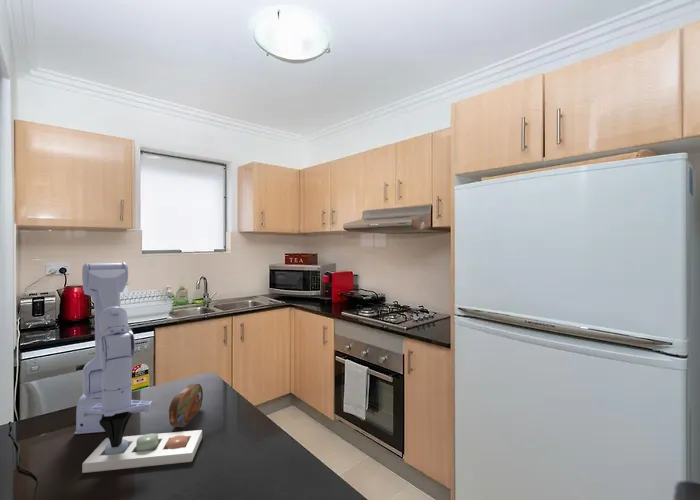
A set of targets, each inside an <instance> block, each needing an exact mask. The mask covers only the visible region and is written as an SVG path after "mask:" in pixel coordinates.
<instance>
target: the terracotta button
mask: <svg viewBox="0 0 700 500" xmlns="http://www.w3.org/2000/svg"><path fill="white" fill-rule="evenodd" d="M187 440H188V438H187V437H186V436H184V435H179V436H175V437H172V438H170V439H169V440H168V441H167V449H174V448H185V447H186V446H187Z"/></svg>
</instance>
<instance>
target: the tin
mask: <svg viewBox="0 0 700 500" xmlns="http://www.w3.org/2000/svg"><path fill="white" fill-rule="evenodd" d="M203 395H204V393H203V387H202V385H201V384H200V383H196V384H194V383H193V384H188V385H187V386H186V387H184V388H183V389H181V391H180V392H179V393H177V394H175V396H174V397H173V399H172V400H171V402H170V405H169V408H168V420H169V424H170V426H171V427H172V428H185V427H186V426H187V425H188V424H189V422H190V421H191V420H193V418H194V417H196V415H197V414H198V413H199V411H200V409H201V408H202V404H203V397H204V396H203Z"/></svg>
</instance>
